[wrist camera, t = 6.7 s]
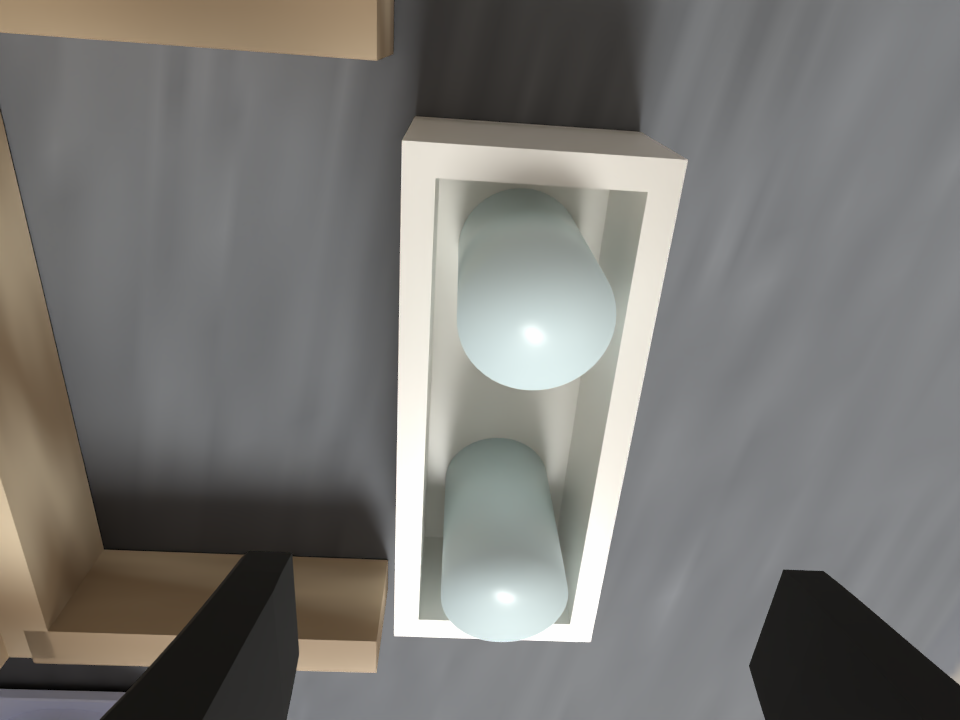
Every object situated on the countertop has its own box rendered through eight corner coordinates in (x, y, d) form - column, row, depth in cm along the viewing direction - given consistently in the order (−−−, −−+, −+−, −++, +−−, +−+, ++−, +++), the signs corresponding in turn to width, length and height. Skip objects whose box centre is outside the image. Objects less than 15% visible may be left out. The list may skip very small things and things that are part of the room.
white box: (570, 546, 20) (598, 683, 16) (404, 540, 20) (389, 677, 16) (640, 131, 15) (710, 173, 11) (415, 116, 15) (395, 152, 10)
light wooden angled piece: (387, 589, 21) (366, 743, 16) (-32, 574, 20) (-173, 731, 16) (394, -12, 13) (359, -30, 9) (-263, -64, 13) (-652, -113, 8)
